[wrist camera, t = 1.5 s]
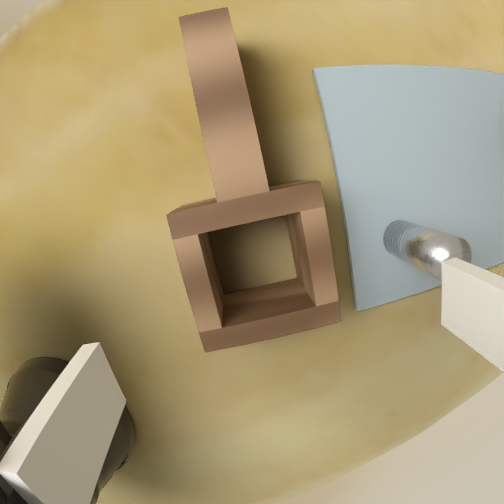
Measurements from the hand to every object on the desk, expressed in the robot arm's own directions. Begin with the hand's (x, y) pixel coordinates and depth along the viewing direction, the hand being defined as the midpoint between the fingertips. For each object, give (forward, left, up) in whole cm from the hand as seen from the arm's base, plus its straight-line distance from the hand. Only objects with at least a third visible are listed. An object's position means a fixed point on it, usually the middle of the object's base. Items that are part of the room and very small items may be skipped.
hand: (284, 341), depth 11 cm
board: (+20, +3, -15) cm, 25 cm away
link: (0, +6, -15) cm, 16 cm away
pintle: (+12, -1, -15) cm, 19 cm away
